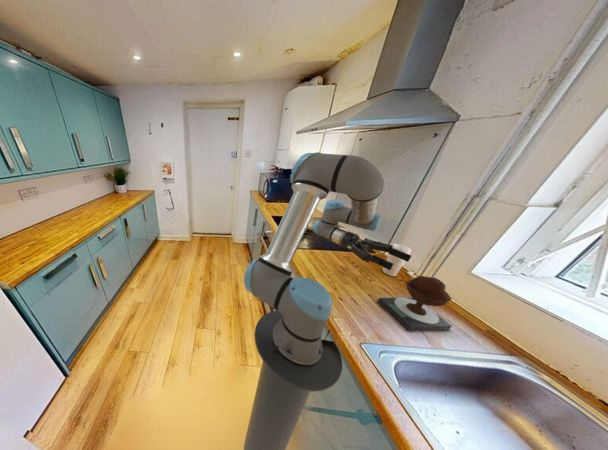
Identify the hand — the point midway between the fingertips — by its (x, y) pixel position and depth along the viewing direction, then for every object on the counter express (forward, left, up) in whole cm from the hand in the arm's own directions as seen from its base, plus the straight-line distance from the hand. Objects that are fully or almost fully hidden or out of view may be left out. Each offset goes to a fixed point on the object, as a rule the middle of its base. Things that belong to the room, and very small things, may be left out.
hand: (401, 262), depth 75 cm
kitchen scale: (+3, -9, -18) cm, 20 cm away
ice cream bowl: (+4, -9, -15) cm, 18 cm away
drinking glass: (+17, +16, -18) cm, 30 cm away
